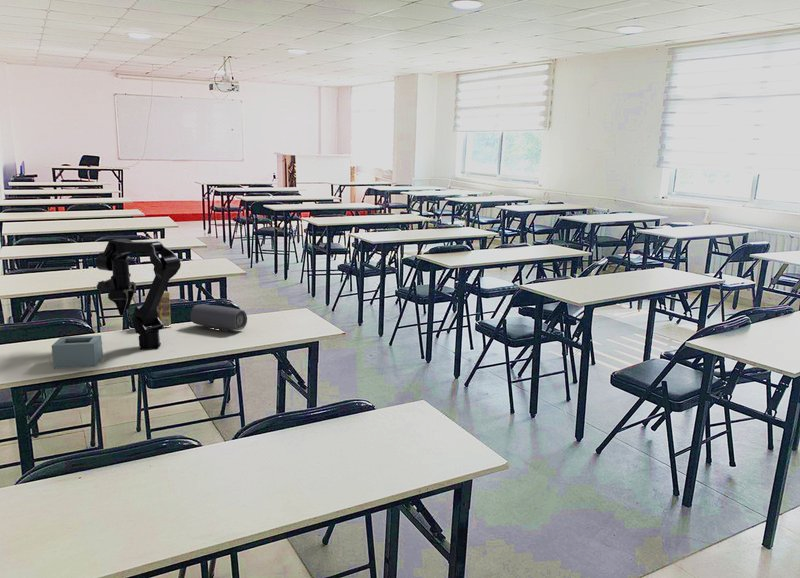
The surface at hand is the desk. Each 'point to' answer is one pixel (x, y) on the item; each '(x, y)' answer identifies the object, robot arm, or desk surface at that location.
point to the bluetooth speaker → (219, 317)
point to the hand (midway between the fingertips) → (124, 312)
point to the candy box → (164, 309)
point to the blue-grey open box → (77, 351)
